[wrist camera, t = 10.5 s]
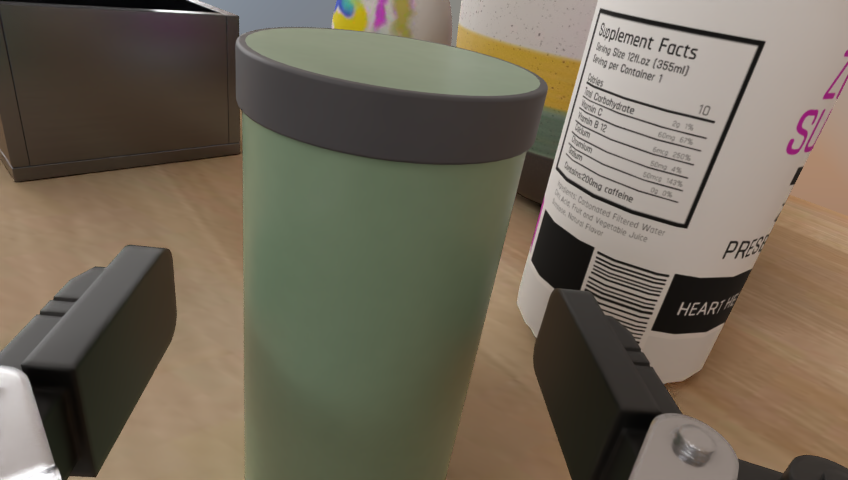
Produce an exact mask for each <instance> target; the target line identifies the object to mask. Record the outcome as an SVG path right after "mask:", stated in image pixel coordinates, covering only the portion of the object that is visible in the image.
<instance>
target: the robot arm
mask: <svg viewBox="0 0 848 480" xmlns="http://www.w3.org/2000/svg"><path fill="white" fill-rule="evenodd" d="M176 318H177V310H176V296H175V283H174V270H173V258H172V254H171V252H170V250H169V249H167V248H156V247H146V246H136V245H127V246H125V247H124V248H123V249H122V250H121V252H120V253H119V254H118V255H117V256H116V257H115V258H114V260H113V261H112V262H111V263H110V264H109V265H108V266H107V267H106V268H105V267H94V268H92V269H90V270H88V271H86V272H84V273H82V274H80V275H78V276H77V277H75V278H73V279H71V280H70V281H69V282H68V283H67V284H66V285H65V286H64V287H63V288H62V289H61V290H60V291H59V292H58V293H57V294H56V295H55V296H54V299H53V300H50V301H49V302H48V303H47V304H46V305H45V306H44V308H43V309H42V310H41V311H40V315H36V316H35V317H34V318H33V319H32V320H31V321H30V322H29V323H28V324H27V325H26V326H25V327H24V328H23V329H22V330H21V331H20V332H19V333H18V335H17V336H16V337H15V338H14V339H13V340H12V341H11V342H10V343H9V344H8V345H7V346H6V347H5V348H4V349H3V350H2V351H1V352H0V480H67V479H68V477H69V476H82V477H96V476H97V474H98V472H99V470H100V469H101V467H102V465H103V463H104V461H105V460H106V458H107V456H108V454H109V452H110V451H111V449H112V447H113V445H114V443H115V442H116V440H117V438H118V436H119V434H120V432H121V431H122V429H123V427H124V425H125V423H126V422H127V420H128V418H129V416H130V414H131V413H132V411H133V409H134V407H135V405H136V404H137V402H138V400H139V398H140V396H141V395H142V393H143V391H144V389H145V387H146V386H147V384H148V382H149V380H150V378H151V377H152V375H153V373H154V371H155V369H156V368H157V366H158V364H159V362H160V360H161V359H162V357H163V355H164V353H165V351H166V350H167V348H168V346H169V344H170V342H171V340H172V337H173V334H174V331H175V326H176ZM533 362H534V370H535V374H536V377H537V380H538V383H539V385H540V388H541V391H542V394H543V397H544V400H545V403H546V406H547V409H548V412H549V414H550V417H551V420H552V423H553V426H554V429H555V432H556V435H557V438H558V441H559V443H560V446H561V449H562V452H563V455H564V458H565V461H566V464H567V467H568V470H569V472H570V475H571V478H572V480H848V469H847V468H845V467H843V466H841V465H839V464H837V463H835V462H833V461H830V460H828V459H825V458H822V457H818V456H812V455H803V456H798V457H796V458H795V459H794V460H792V462H791V463H790V465H789V466H788V468H787V469H786V471H785V472H784V473H781V472H777V471H774V470H771V469H768V468H765V467H762V466H759V465H756V464H752V463H749V462H746V461H743V460H740V459H738V458H737V456H736V453H735V451H734V450H733V448H732V447H731V445H730V444H729V443H728V442H727V440H726V439H725V438H724V437H723V436H721V435H720V434H719V433H718V432H717V431H715V430H714V429H713V428H711V427H710V426H708V425H707V424H705V423H703V422H701V421H699V420H697V419H695V418H692V417H689V416H686V415H683V414H682V413H681V411H680V410H679V408H678V407H677V405H676V403H675V402H674V400H673V399H672V397H671V395H670V394H669V392H668V391H667V389H666V387H665V386H664V384H663V383H662V381H661V380H660V378H659V376H658V375H657V373H656V372H655V370H654V368H653V367H650V362H649V360H648V359H647V357H646V356H645V354H644V353H643V352H641V348H640V346H639V345H638V343H637V341H636V340H635V338H634V337H633V335H632V334H631V332H630V331H629V330H628V329H627V328H625V327H624V326H623V325H622V324H621V323H620V322H618V321H617V320H616V319H615V318H614V317H613V316H606V315H605V314H604V312H603V311H602V309H601V307H600V306H599V304H598V302H597V301H596V299H595V297H594V295H593V294H592V293H591V292H589V291H581V290H571V289H561V288H556V289H554V290H553V291H552V293H551V295H550V298H549V301H548V304H547V307H546V310H545V314H544V317H543V320H542V323H541V326H540V330H539V333H538V336H537V339H536V342H535V347H534V355H533Z"/></svg>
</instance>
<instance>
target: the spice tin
mask: <svg viewBox="0 0 848 480" xmlns="http://www.w3.org/2000/svg"><path fill="white" fill-rule="evenodd" d="M235 60H236V101H237V103H238V106H239V108H240V109H241V110H242V131H243V276H244V421H245V480H445V479H446V475H447V471H448V467H449V463H450V458H451V454H452V450H453V446H454V442H455V438H456V434H457V430H458V426H459V422H460V418H461V414H462V410H463V406H464V402H465V398H466V394H467V390H468V386H469V382H470V378H471V374H472V370H473V366H474V362H475V358H476V354H477V350H478V345H479V341H480V337H481V333H482V329H483V325H484V321H485V317H486V313H487V309H488V305H489V301H490V297H491V293H492V289H493V285H494V281H495V277H496V273H497V269H498V265H499V261H500V257H501V253H502V249H503V245H504V241H505V237H506V233H507V228H508V224H509V220H510V216H511V212H512V208H513V204H514V200H515V196H516V192H517V188H518V184H519V180H520V176H521V172H522V168H523V164H524V160H525V156H526V152H527V151H528V150H529V149H530V148H531V146H532V145H533V144H534V142H535V139H536V135H537V131H538V127H539V123H540V119H541V115H542V111H543V107H544V103H545V99H546V95H547V91H548V86H547V83H546V82H545V81H544V80H543V79H542V78H541V77H540V76H538V75H537V74H535V73H533V72H531V71H530V70H528V69H525V68H523V67H521V66H519V65H516V64H513V63H511V62H508V61H505V60H502V59H499V58H496V57H492V56H489V55H486V54H482V53H478V52H474V51H471V50H467V49H462V48H458V47H453V46H449V45H445V44H440V43H435V42H430V41H424V40H419V39H413V38H407V37H401V36H394V35H387V34H380V33H372V32H364V31H354V30H344V29H331V28H312V27H278V28H266V29H259V30H254V31H250V32H247V33H244V34H242V35H240V36H239V37H238V38H237V40H236V44H235Z"/></svg>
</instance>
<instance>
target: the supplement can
mask: <svg viewBox="0 0 848 480" xmlns="http://www.w3.org/2000/svg"><path fill="white" fill-rule="evenodd" d="M847 79H848V0H598V2H597V6H596V9H595V13H594V17H593V20H592V24H591V28H590V31H589V35H588V39H587V42H586V46H585V50H584V53H583V57H582V61H581V64H580V68H579V72H578V75H577V79H576V83H575V86H574V90H573V93H572V97H571V101H570V104H569V108H568V112H567V115H566V119H565V123H564V126H563V130H562V134H561V137H560V141H559V145H558V148H557V152H556V156H555V159H554V163H553V166H552V170H551V174H550V177H549V181H548V185H547V188H546V192H545V196H544V199H543V203H542V207H541V210H540V214H539V218H538V221H537V225H536V229H535V232H534V236H533V239H532V243H531V247H530V250H529V254H528V258H527V261H526V265H525V269H524V272H523V276H522V280H521V283H520V287H519V293H518V298H517V305H518V307H519V310H520V312H521V314H522V317H523V319H524V321H525V323H526V324H527V325H528V326H529V327H530V328H531V330H532V333H533V335H534V336H535V337H536V338H537V336H538V333H539V330H540V326H541V323H542V320H543V317H544V314H545V310H546V307H547V304H548V301H549V298H550V295H551V293H552V291H553V290H554V289H556V288H561V289H571V290H581V291H589V292H591V293H592V294H593V295H594V297H595V299H596V301H597V302H598V304H599V306H600V307H601V309H602V311H603V312H604V314H605V315H606V316H613V317H614V318H615V319H616V320H617V321H618V322H620V323H621V324H622V325H623V326H624V327H625V328H627V329H628V330H629V331H630V332H631V334H632V335H633V337H634V338H635V340H636V341H637V343H638V345H639V346H640V348H641V352H643V353H644V354H645V356H646V357H647V359H648V360H649V362H650V367H653V368H654V370H655V372H656V373H657V375H658V376H659V378H660V380H661V381H662V383H663V384H666V383H669V382H679V381H683V380H685V379H687V378H688V377H690V376H692V375H693V374H695V373H697V372H698V371H700V370H701V369H702V367H703V365H704V363H705V361H706V359H707V357H708V355H709V353H710V351H711V349H712V347H713V345H714V343H715V341H716V339H717V337H718V335H719V333H720V331H721V329H722V327H723V325H724V324H725V322H726V320H727V318H728V316H729V314H730V312H731V310H732V308H733V306H734V304H735V302H736V300H737V298H738V296H739V294H740V292H741V290H742V288H743V286H744V284H745V282H746V280H747V278H748V276H749V274H750V272H751V270H752V268H753V266H754V264H755V262H756V260H757V258H758V256H759V254H760V252H761V250H762V248H763V246H764V244H765V242H766V240H767V238H768V236H769V234H770V232H771V230H772V228H773V226H774V224H775V222H776V220H777V218H778V216H779V214H780V212H781V210H782V208H783V206H784V204H785V202H786V200H787V198H788V196H789V194H790V192H791V190H792V188H793V186H794V184H795V182H796V180H797V178H798V176H799V174H800V172H801V170H802V168H803V166H804V164H805V162H806V160H807V158H808V156H809V154H810V152H811V150H812V148H813V146H814V144H815V142H816V140H817V138H818V136H819V135H820V132H821V130H822V129H823V127H824V125H825V123H826V121H827V119H828V117H829V115H830V113H831V110H832V109H833V107H834V105H835V103H836V101H837V99H838V96H839V95H840V93H841V91H842V89H843V86H844V85H845V83H846V81H847Z"/></svg>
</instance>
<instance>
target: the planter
mask: <svg viewBox="0 0 848 480" xmlns="http://www.w3.org/2000/svg"><path fill="white" fill-rule="evenodd" d="M597 2H598V0H462V2H461V10H460V18H459V27H458V35H457V46H456V47H458V48H462V49H467V50H471V51H474V52H478V53H482V54H486V55H489V56H492V57H496V58H499V59H502V60H505V61H508V62H511V63H513V64H516V65H519V66H521V67H523V68H525V69H528V70H530V71H531V72H533V73H535V74H537V75H538V76H540V77H541V78H542V79H543V80H544V81H545V82H546V83H547V86H548V91H547V95H546V99H545V103H544V107H543V111H542V115H541V119H540V123H539V127H538V131H537V135H536V139H535V142H534V144H533V145H532V146H531V148H530V149H529V150H528V151H527V152H526V156H525V160H524V164H523V168H522V172H521V176H520V180H519V184H518V188H517V193H519V194H521V195H522V196H524V197H526V198H528V199H530V200H532V201H535V202H537V203H539V204H542V203H543V199H544V196H545V192H546V188H547V185H548V181H549V177H550V174H551V170H552V166H553V163H554V159H555V156H556V152H557V148H558V145H559V141H560V137H561V134H562V130H563V126H564V123H565V119H566V115H567V112H568V108H569V104H570V101H571V97H572V93H573V90H574V86H575V83H576V79H577V75H578V72H579V68H580V64H581V61H582V57H583V53H584V50H585V46H586V42H587V39H588V35H589V31H590V28H591V24H592V20H593V17H594V13H595V9H596V6H597Z"/></svg>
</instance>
